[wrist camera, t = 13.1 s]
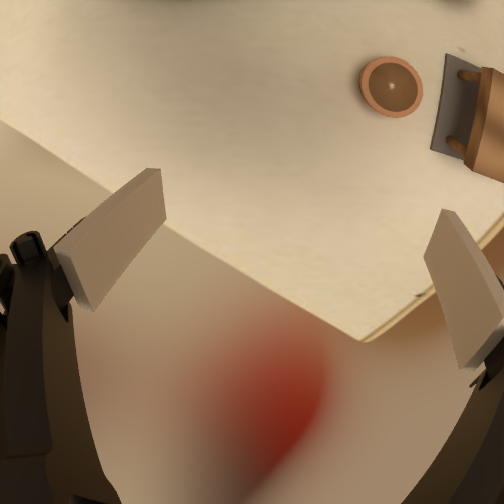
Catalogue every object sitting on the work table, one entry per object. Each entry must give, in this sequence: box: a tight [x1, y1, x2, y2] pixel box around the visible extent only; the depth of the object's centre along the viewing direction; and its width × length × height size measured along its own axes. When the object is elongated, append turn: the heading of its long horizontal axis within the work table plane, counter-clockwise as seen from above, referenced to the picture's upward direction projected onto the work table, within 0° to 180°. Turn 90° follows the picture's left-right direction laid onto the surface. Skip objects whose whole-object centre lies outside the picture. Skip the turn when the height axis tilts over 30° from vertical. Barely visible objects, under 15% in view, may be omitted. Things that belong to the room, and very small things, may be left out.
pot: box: [359, 57, 423, 118], centre depth 27 cm, size 7×7×5 cm
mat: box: [430, 54, 482, 160], centre depth 27 cm, size 14×14×1 cm
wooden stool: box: [446, 67, 504, 183], centre depth 23 cm, size 12×11×10 cm
